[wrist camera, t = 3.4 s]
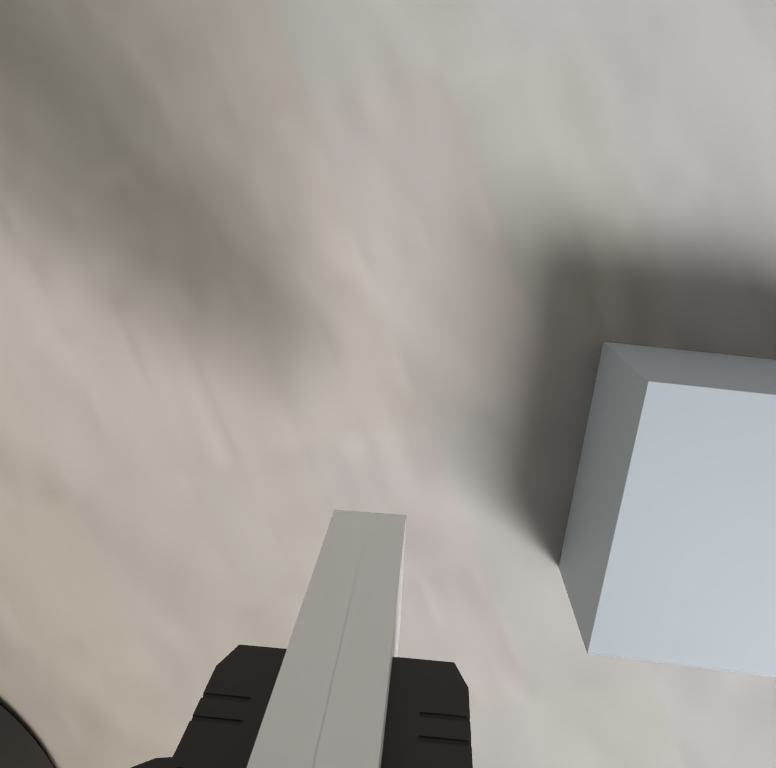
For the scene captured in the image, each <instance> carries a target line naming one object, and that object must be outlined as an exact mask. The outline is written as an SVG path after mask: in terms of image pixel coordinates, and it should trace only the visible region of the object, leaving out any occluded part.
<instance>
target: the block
mask: <svg viewBox="0 0 776 768" xmlns="http://www.w3.org/2000/svg"><path fill="white" fill-rule="evenodd" d="M559 569H560V572H561V575H562V578H563V581H564V584H565V587H566V590H567V593H568V596H569V599H570V602H571V605H572V609H573V612H574V615H575V618H576V621H577V624H578V627H579V630H580V633H581V636H582V639H583V642H584V645H585V648H586V651H587V654H594V655H602V656H610V657H618V658H626V659H634V660H642V661H650V662H658V663H666V664H674V665H682V666H690V667H698V668H706V669H713V670H721V671H729V672H737V673H745V674H753V675H761V676H769V677H776V360H774V359H765V358H755V357H746V356H736V355H727V354H717V353H708V352H698V351H688V350H679V349H669V348H660V347H650V346H641V345H631V344H622V343H612V342H603V346H602V351H601V356H600V361H599V366H598V371H597V376H596V381H595V386H594V391H593V396H592V401H591V406H590V412H589V417H588V422H587V427H586V432H585V437H584V442H583V447H582V452H581V457H580V462H579V467H578V472H577V477H576V482H575V487H574V492H573V497H572V502H571V508H570V513H569V518H568V523H567V528H566V533H565V538H564V543H563V548H562V553H561V558H560V563H559Z"/></svg>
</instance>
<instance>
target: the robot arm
mask: <svg viewBox="0 0 776 768" xmlns="http://www.w3.org/2000/svg"><path fill="white" fill-rule="evenodd" d="M405 530H406V515H395V514H382V513H370V512H357V511H344V510H334V513H333V516H332V518H331V521H330V524H329V527H328V530H327V533H326V536H325V539H324V542H323V545H322V548H321V551H320V554H319V557H318V560H317V562H316V565H315V568H314V571H313V574H312V577H311V580H310V583H309V586H308V589H307V592H306V595H305V598H304V601H303V604H302V606H301V609H300V612H299V615H298V618H297V621H296V624H295V627H294V630H293V633H292V636H291V639H290V642H289V645H288V647H287V649H281V648H270V647H259V646H248V645H238V646H237V647H236V648H235V649H234V650H233V651H232V652H231V653H230V654H229V655H228V656H227V657H225V658H224V659H223V660H222V661H221V662H220V663H219V664H218V665H217V666H216V668H215V670H214V672H213V674H212V676H211V678H210V680H209V682H208V684H207V686H206V689H205V691H204V694H203V698H201V699H200V701H199V703H198V705H197V707H196V709H195V712H194V714H193V718H192V721H190V722H189V724H188V726H187V728H186V730H185V732H184V735H183V737H182V739H181V741H180V743H179V745H178V747H177V749H176V751H175V753H174V755H173V757H168V758H155V759H152V760H150V761H147V762H144V763H142V764H139V765H136V766H134V767H131V768H473V767H472V748H471V729H470V710H469V691H468V686H467V685H466V683H465V681H464V679H463V678H462V676H461V674H460V672H459V670H458V669H457V667H456V665H455V663H454V662H443V661H432V660H422V659H411V658H400V657H397V653H398V643H399V633H400V619H401V602H402V584H403V566H404V548H405ZM0 768H54V767H53V765H52V764H51V762H50V761H49V759H48V758H47V756H46V755H45V753H44V752H43V750H42V749H41V748H40V746H39V745H38V744H37V742H36V741H35V740H34V739H33V737H32V736H31V735H30V734H29V733H28V732H27V731H26V729H25V728H24V727H23V726H22V725H21V724H20V723H19V722H18V721H17V720H16V719H15V718H14V717H13V716H12V715H11V714H10V713H8V712H7V711H6V710H5V709H4V708H3V707H2V706H1V705H0Z"/></svg>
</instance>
